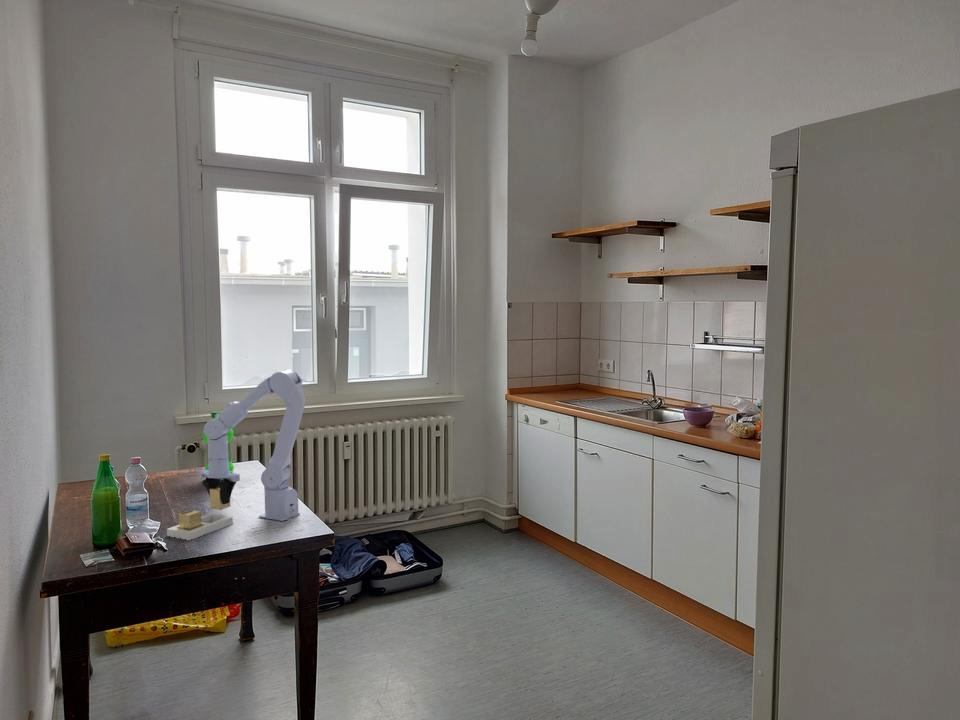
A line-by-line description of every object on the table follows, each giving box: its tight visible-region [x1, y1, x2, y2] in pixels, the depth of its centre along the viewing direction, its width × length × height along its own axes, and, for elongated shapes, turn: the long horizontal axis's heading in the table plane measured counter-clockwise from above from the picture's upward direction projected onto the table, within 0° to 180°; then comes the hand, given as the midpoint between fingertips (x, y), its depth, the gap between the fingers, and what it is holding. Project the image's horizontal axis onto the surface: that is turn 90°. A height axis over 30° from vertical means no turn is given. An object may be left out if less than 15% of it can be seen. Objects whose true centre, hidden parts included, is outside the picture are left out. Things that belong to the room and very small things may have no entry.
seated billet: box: [178, 509, 202, 531], centre depth 188 cm, size 4×4×6 cm
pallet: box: [166, 512, 234, 541], centre depth 191 cm, size 8×16×2 cm, turn 155°
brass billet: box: [209, 486, 231, 511], centre depth 204 cm, size 4×4×6 cm
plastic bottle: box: [202, 410, 235, 480], centre depth 246 cm, size 10×10×25 cm
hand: (220, 502), depth 204 cm, fingers closed on brass billet, 4 cm apart
